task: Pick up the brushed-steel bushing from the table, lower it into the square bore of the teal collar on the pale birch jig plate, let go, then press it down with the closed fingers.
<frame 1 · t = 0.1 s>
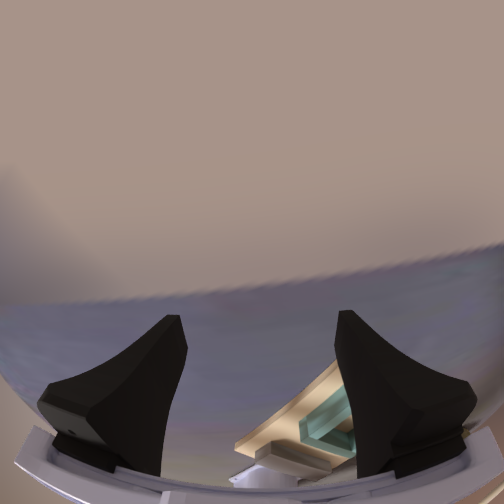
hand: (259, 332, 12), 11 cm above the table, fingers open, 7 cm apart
lime: (455, 433, 27), on the table
jig: (333, 423, 26), on the table
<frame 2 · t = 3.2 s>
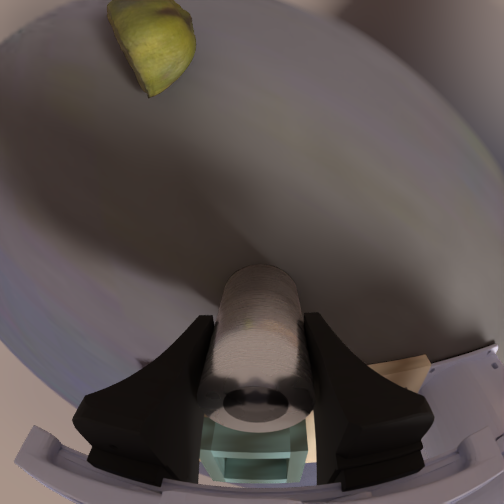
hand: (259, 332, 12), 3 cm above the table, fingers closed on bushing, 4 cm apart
lime: (163, 56, 10), on the table
jig: (290, 424, 19), on the table
bushing: (260, 298, 15), on the table, touching gripper
when the fingers open (5 cm above the table, at t = 6.9 s): bushing drops 1 cm, resting on jig.
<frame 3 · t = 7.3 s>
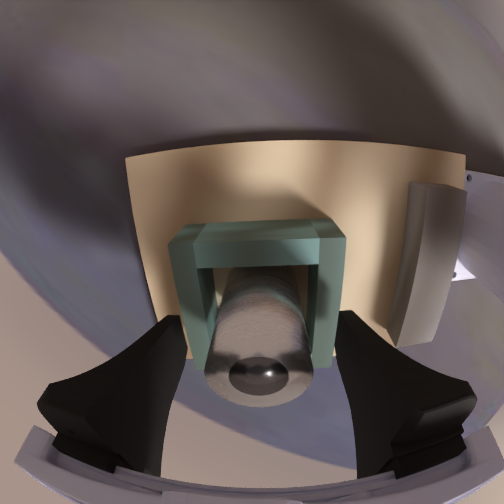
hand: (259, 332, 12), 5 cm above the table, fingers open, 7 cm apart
jig: (310, 259, 16), on the table
bushing: (261, 284, 16), point 1 cm above the table, touching jig
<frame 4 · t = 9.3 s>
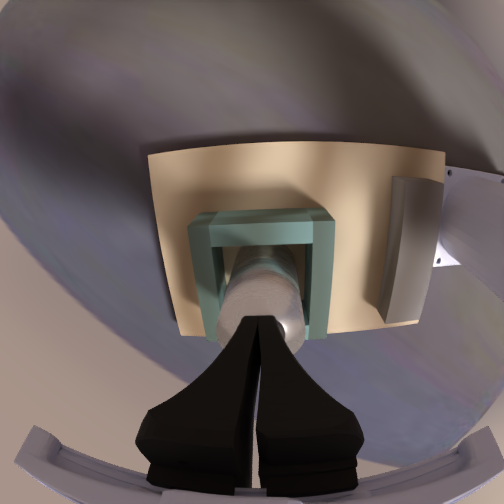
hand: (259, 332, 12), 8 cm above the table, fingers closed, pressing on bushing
jig: (307, 244, 19), on the table
bushing: (264, 265, 18), point 1 cm above the table, touching gripper, jig
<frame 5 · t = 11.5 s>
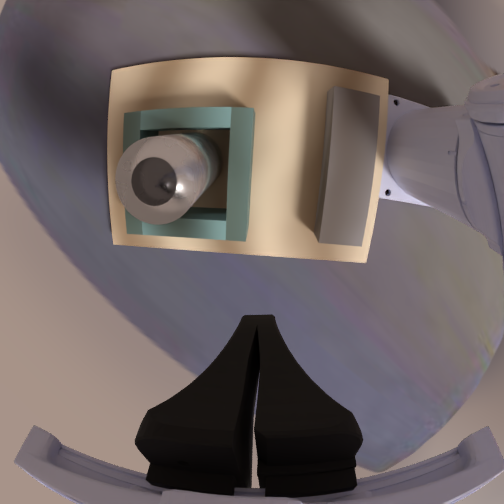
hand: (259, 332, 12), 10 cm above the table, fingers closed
jig: (240, 154, 18), on the table
bushing: (193, 161, 17), point 1 cm above the table, touching jig
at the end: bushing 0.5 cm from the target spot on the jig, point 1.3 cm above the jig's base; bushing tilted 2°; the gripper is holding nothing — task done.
